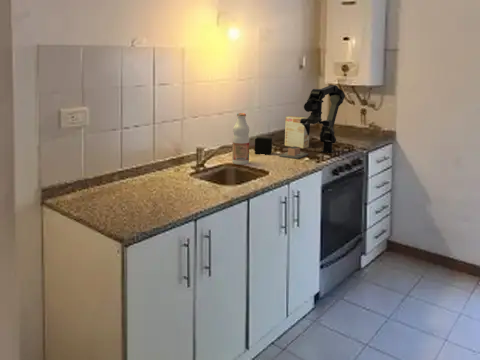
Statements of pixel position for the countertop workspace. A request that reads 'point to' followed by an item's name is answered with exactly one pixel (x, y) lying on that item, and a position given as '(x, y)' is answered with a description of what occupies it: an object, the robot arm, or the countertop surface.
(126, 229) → the countertop surface
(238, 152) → the fruit juice
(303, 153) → the pad
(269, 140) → the electronic device
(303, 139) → the coffeecake box
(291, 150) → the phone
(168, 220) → the countertop surface
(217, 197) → the countertop surface
